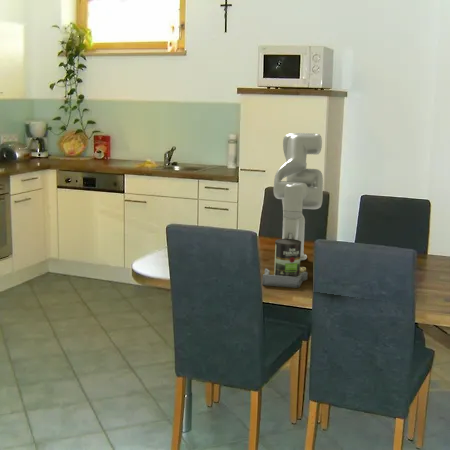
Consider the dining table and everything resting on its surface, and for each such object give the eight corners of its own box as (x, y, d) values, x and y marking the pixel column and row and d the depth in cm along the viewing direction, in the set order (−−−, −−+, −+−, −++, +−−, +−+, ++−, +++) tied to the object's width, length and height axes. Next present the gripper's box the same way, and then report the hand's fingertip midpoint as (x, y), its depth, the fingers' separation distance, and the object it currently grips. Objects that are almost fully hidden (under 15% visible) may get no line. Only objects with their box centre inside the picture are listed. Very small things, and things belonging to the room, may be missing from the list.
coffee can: (303, 278, 271) (305, 243, 268) (279, 280, 268) (280, 244, 265) (294, 271, 280) (295, 238, 278) (270, 273, 278) (271, 239, 275)
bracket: (264, 275, 273) (265, 266, 273) (307, 279, 270) (307, 269, 269) (258, 284, 261) (258, 274, 260) (303, 288, 257) (303, 278, 256)
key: (299, 269, 284) (299, 266, 284) (306, 270, 283) (306, 267, 283) (297, 273, 278) (297, 270, 277) (304, 274, 277) (304, 271, 277)
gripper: (286, 211, 287) (284, 254, 291) (280, 217, 273) (279, 262, 276) (304, 212, 286) (302, 255, 289) (299, 218, 271) (297, 263, 275)
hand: (291, 258), depth 283 cm, fingers closed
